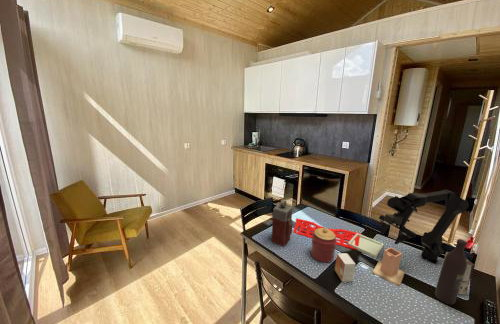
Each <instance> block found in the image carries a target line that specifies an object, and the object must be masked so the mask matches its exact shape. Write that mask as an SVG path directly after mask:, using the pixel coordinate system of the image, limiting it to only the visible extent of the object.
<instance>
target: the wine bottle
mask: <svg viewBox="0 0 500 324" xmlns="http://www.w3.org/2000/svg"><path fill="white" fill-rule="evenodd" d="M466 246H467V241H466V240H465V239H461V238H459V239H457V240H456V246H455V247H454V248H453V249H452V250H451V251H448V252H449V253H448V254H447V255H446V257H445V256H444V258H445V259H444V258H443V262H444V263H442V265H443V266H442V267H441V270H440V272H439V273H440V274H439V276H438V280H437V284H436V288H435V289H434V290H435V291H434V296H435V297H436V299H437V300H438V301H441V302H442V303H444V304H446V305H451V306H452V305H455V304H456V302H457V298H458V292H459V289H460V286H461V283H462V280H463V277H464V274H465V271H466V268H467V260H466V258H467V257H466V255H465V247H466Z"/></svg>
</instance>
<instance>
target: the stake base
mask: <svg viewBox="0 0 500 324" xmlns="http://www.w3.org/2000/svg"><path fill="white" fill-rule="evenodd" d="M381 264H382V260H378V262H377V264H376V265H375V266H374V268H373V271H372V274H374V275H375V276H377V277H380V278H382V279H383V280H386V281H387V282H390V283H391V284H394V285H396V286H398V287H400V286H401V284H402V281H403V279H404V277H405V271H403V270H401V269H400V268H399V269H398V274H396V275H394V276H393V277H390V276H389V275H387V274H386V273H384V272H383V271H381V270H380V269H381Z"/></svg>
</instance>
